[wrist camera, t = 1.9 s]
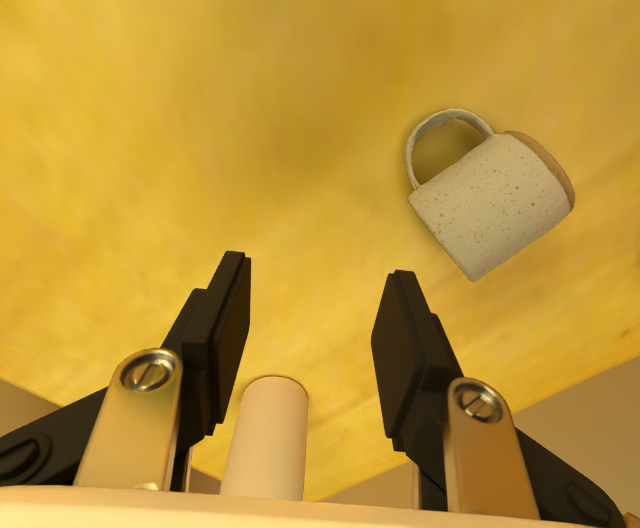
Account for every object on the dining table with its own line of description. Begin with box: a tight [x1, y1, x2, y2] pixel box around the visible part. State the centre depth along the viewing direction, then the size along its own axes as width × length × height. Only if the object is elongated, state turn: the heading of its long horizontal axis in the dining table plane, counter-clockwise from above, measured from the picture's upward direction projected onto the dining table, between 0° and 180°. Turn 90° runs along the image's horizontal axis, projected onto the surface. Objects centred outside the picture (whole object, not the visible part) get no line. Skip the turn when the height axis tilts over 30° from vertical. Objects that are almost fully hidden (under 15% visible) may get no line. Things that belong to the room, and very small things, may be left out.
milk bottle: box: [219, 376, 308, 501], centre depth 32 cm, size 8×8×20 cm
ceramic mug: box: [405, 108, 575, 282], centre depth 23 cm, size 11×8×8 cm
